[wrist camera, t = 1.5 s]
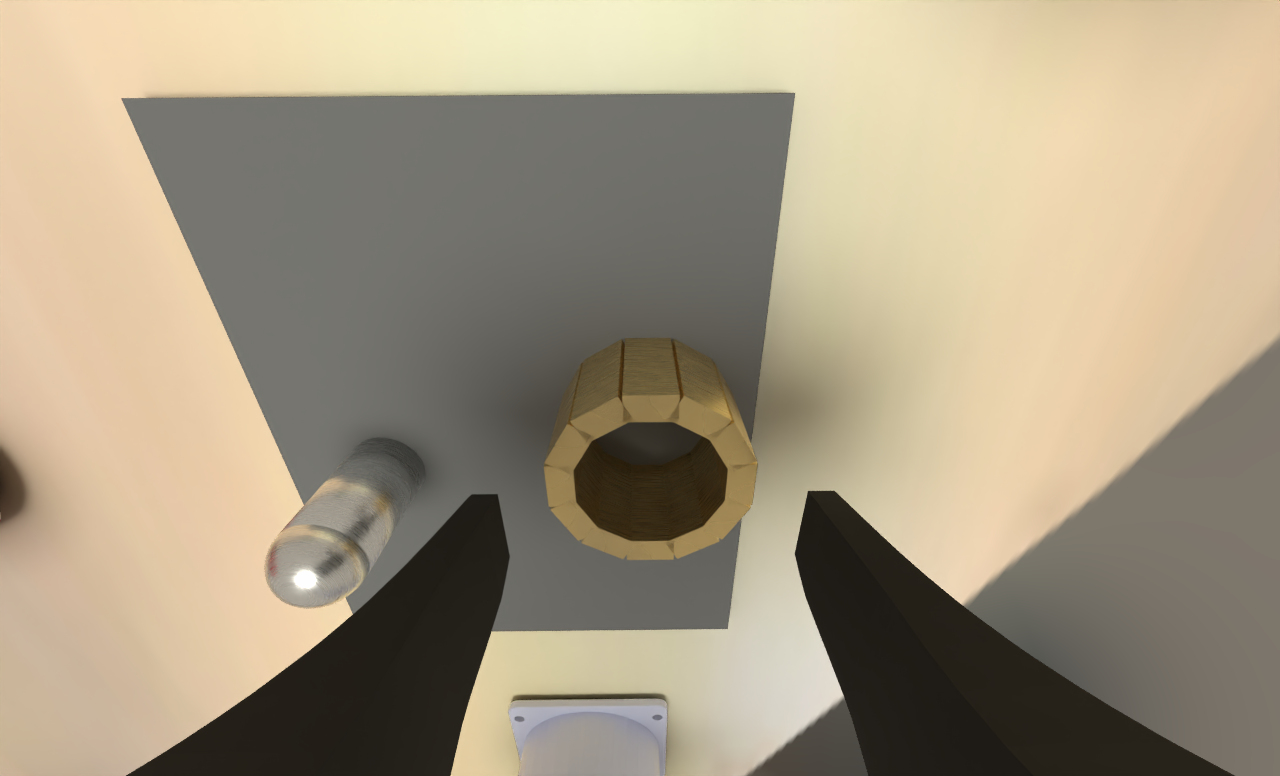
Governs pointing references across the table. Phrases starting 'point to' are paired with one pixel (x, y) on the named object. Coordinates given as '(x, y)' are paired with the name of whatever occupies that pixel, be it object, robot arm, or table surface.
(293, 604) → the silver rounded cylinder
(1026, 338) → the table surface
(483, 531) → the robot arm
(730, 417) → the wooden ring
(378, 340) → the mat
